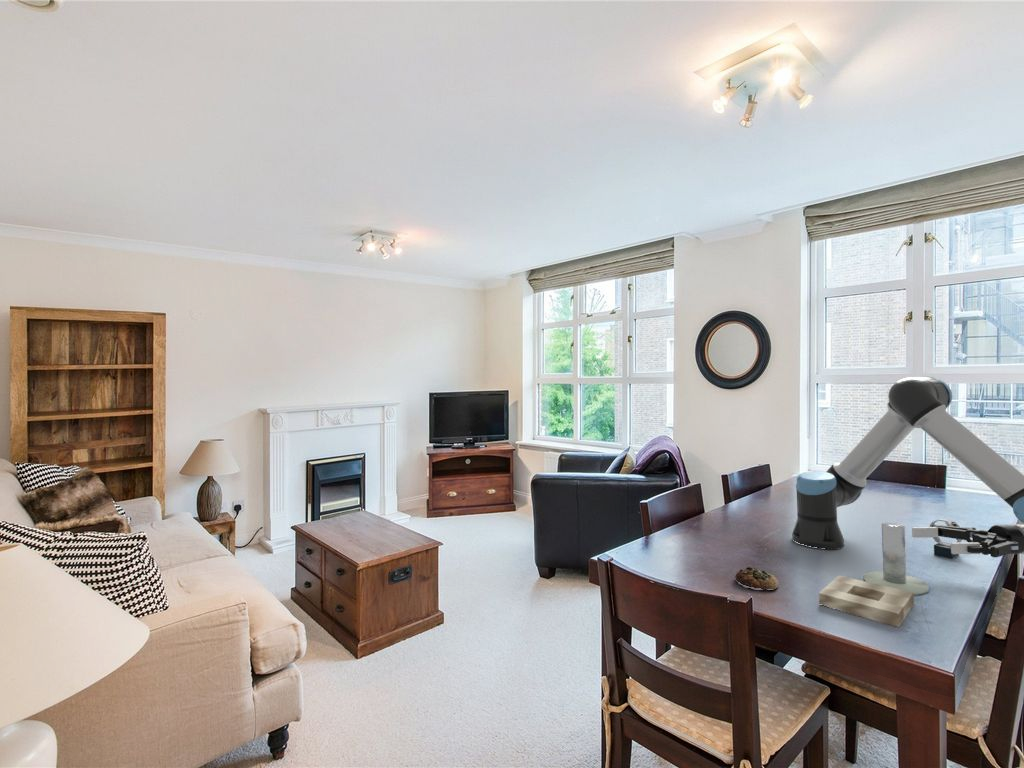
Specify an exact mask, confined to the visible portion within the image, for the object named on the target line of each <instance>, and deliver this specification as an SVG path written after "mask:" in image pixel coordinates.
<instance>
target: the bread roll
mask: <svg viewBox="0 0 1024 768" xmlns="http://www.w3.org/2000/svg"><path fill="white" fill-rule="evenodd" d="M734 576H735V577H734V579H735V578H736V580H737V581H738V582H740V583H741V584H743V585H746V586H749V587H754V588H761V589H764V590H765V589H775V588H776V587H778V588H779V581H778V579H777V577H776V576H774V575H773V574H771V573H768V572H767V571H766V570H761V569H758V568H756V567H754V568H753V567H751V566H747V567H746V568H745V569H743V568H742V569H740V570H739V571H737V572H736V574H735V575H734ZM736 580H735V581H736ZM737 581H736V582H737Z"/></svg>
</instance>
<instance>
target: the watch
mask: <svg viewBox="0 0 1024 768" xmlns="http://www.w3.org/2000/svg"><path fill="white" fill-rule="evenodd" d="M937 522H944V523H945V525H946V526H955V527H961V526H960V525H959V524H958V523H957V522H955V521H953V520H950V519H947V518H940V519H936V520H934V521H932V522H931V523H930V524H929V526H928V527H931V525H932V524H935V523H937ZM932 539H933V540H934V541H935V542H936V543H935V544H933V556H938V557H940V558H947V559H951V560H952V559H954V558H956V557H959V555H960V554H952V553H951V542H950V543H949V542H945V541H942V540H941V537H940V536H938V537H937V539H936V538H934V537H932ZM962 541H963V540H961V539H956V542H955V543H962Z"/></svg>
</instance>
